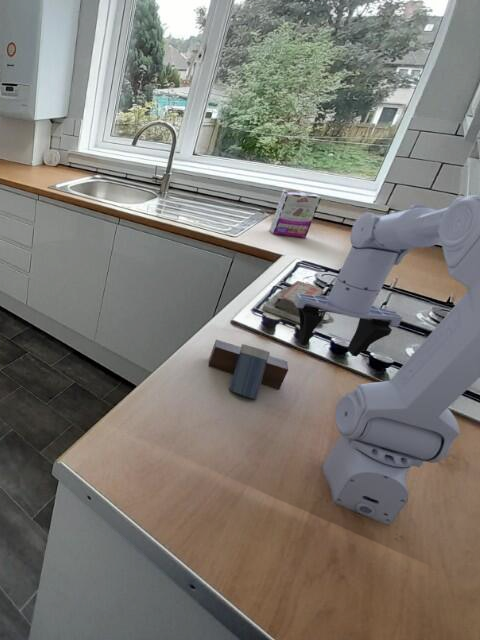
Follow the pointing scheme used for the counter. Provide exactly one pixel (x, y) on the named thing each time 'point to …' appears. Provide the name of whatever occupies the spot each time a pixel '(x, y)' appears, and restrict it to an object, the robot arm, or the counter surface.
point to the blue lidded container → (249, 371)
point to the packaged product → (290, 300)
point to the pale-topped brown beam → (227, 358)
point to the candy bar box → (295, 214)
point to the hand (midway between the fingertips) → (326, 347)
